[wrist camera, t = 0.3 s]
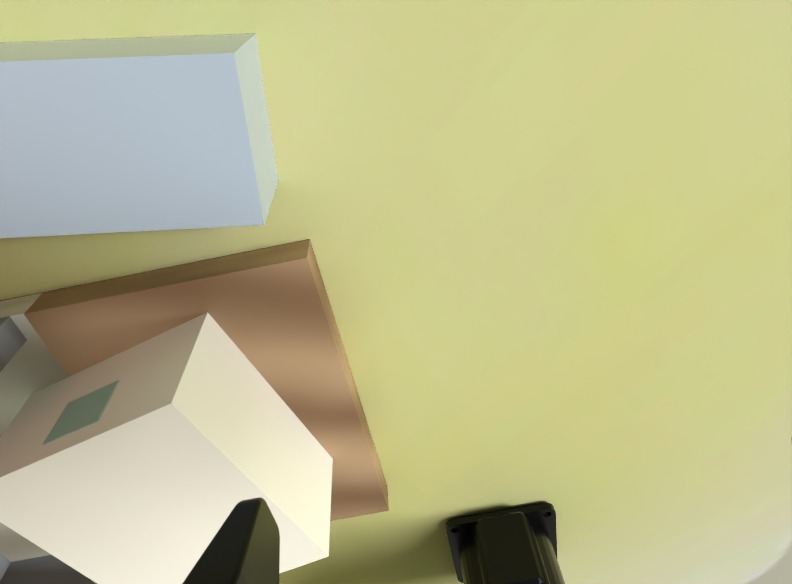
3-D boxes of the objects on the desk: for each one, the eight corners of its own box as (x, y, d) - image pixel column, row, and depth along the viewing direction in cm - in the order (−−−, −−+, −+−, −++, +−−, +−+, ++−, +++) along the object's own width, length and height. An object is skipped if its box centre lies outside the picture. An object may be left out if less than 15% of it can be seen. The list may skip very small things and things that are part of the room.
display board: (387, 487, 30) (393, 584, 25) (16, 552, 31) (-42, 656, 26) (309, 239, 21) (297, 319, 17) (-203, 341, 22) (-347, 444, 18)
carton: (333, 459, 26) (329, 557, 22) (182, 517, 28) (151, 618, 24) (206, 311, 21) (170, 402, 17) (30, 393, 23) (-44, 494, 18)
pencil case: (257, 32, 17) (233, 52, 14) (279, 178, 20) (264, 224, 17) (-125, 45, 17) (-244, 70, 14) (-49, 193, 20) (-132, 245, 16)
